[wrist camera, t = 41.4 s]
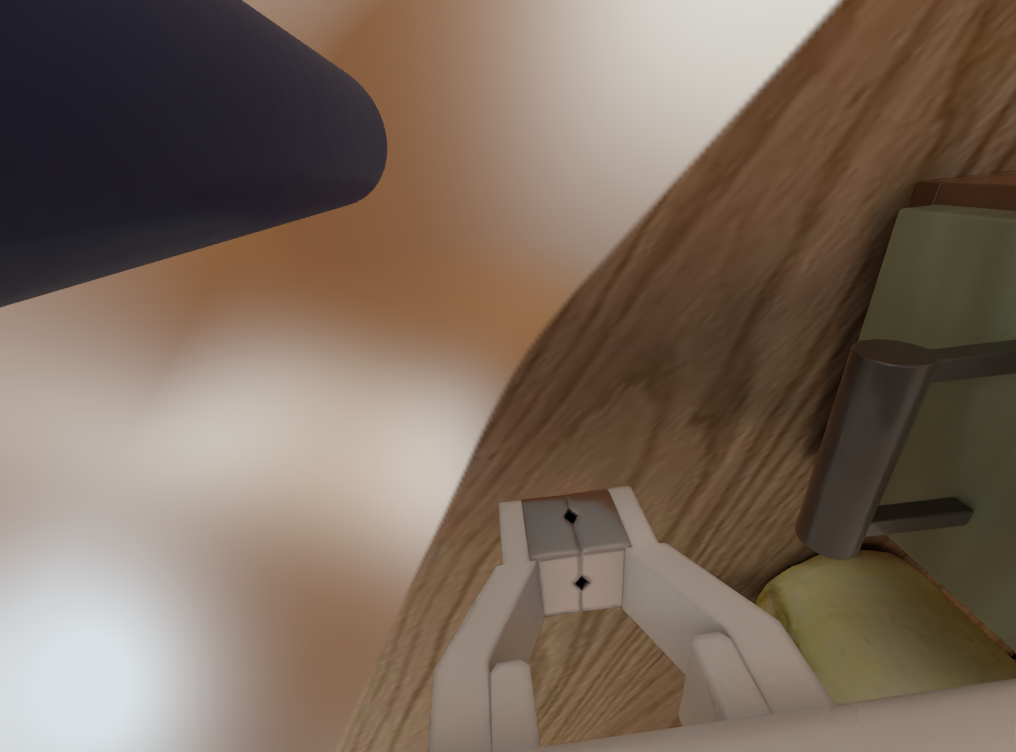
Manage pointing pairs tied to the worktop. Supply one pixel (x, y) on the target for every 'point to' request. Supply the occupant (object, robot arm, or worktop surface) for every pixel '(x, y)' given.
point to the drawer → (931, 413)
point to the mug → (879, 628)
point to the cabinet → (969, 191)
